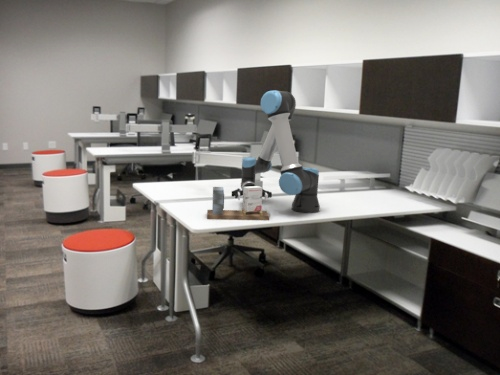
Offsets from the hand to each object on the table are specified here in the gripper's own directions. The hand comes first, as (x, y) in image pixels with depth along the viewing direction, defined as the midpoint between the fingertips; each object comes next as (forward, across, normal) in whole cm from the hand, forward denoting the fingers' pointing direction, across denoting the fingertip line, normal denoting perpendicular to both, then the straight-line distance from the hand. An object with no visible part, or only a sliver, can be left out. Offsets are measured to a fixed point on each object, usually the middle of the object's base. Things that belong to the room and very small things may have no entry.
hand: (253, 197), depth 231 cm
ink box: (-3, 0, -7) cm, 8 cm away
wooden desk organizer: (-3, +7, -11) cm, 13 cm away
